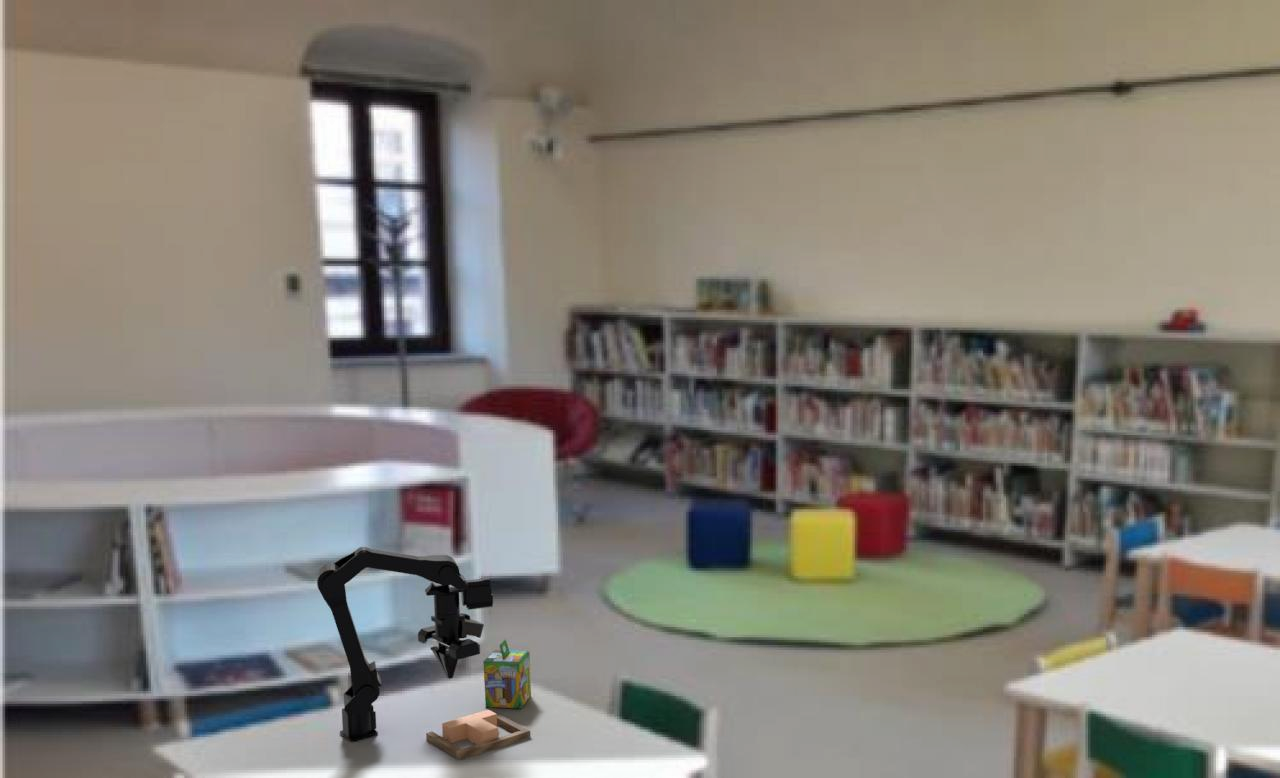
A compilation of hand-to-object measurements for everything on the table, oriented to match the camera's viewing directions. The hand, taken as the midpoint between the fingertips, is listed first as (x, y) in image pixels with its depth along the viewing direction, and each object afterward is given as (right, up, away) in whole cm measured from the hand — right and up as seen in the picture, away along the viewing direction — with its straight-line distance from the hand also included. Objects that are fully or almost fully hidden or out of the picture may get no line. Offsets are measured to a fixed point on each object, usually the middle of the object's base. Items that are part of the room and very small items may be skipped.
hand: (450, 677), depth 258 cm
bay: (+8, -11, -9) cm, 16 cm away
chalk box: (+12, -9, +13) cm, 20 cm away
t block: (+7, -11, -8) cm, 15 cm away
